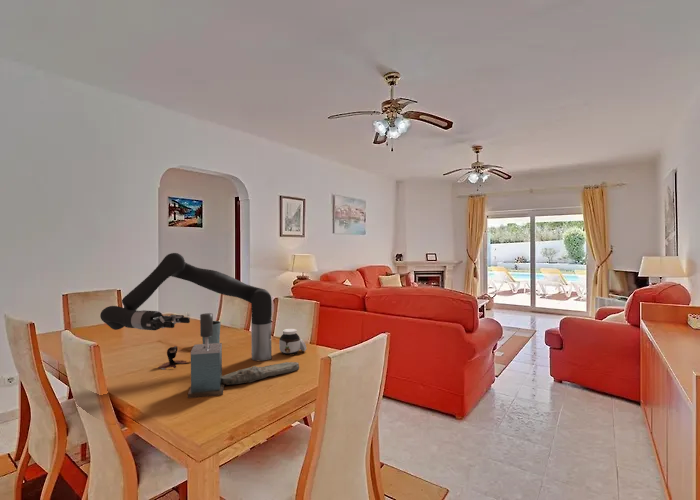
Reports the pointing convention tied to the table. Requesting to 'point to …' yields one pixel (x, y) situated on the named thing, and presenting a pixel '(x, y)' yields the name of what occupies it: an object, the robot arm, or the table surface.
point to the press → (206, 371)
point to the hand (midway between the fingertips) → (181, 322)
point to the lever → (206, 326)
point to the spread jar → (291, 342)
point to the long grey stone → (258, 373)
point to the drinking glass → (214, 333)
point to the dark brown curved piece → (172, 354)
